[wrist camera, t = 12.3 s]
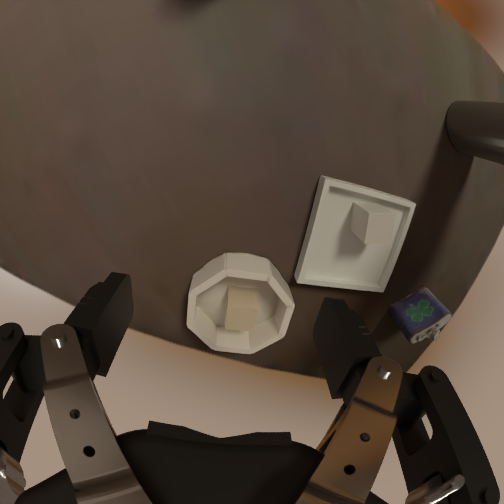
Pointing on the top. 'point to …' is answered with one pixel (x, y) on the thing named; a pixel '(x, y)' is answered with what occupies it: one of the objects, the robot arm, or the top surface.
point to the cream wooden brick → (241, 308)
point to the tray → (349, 239)
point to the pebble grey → (372, 223)
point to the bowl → (215, 294)
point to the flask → (419, 315)
